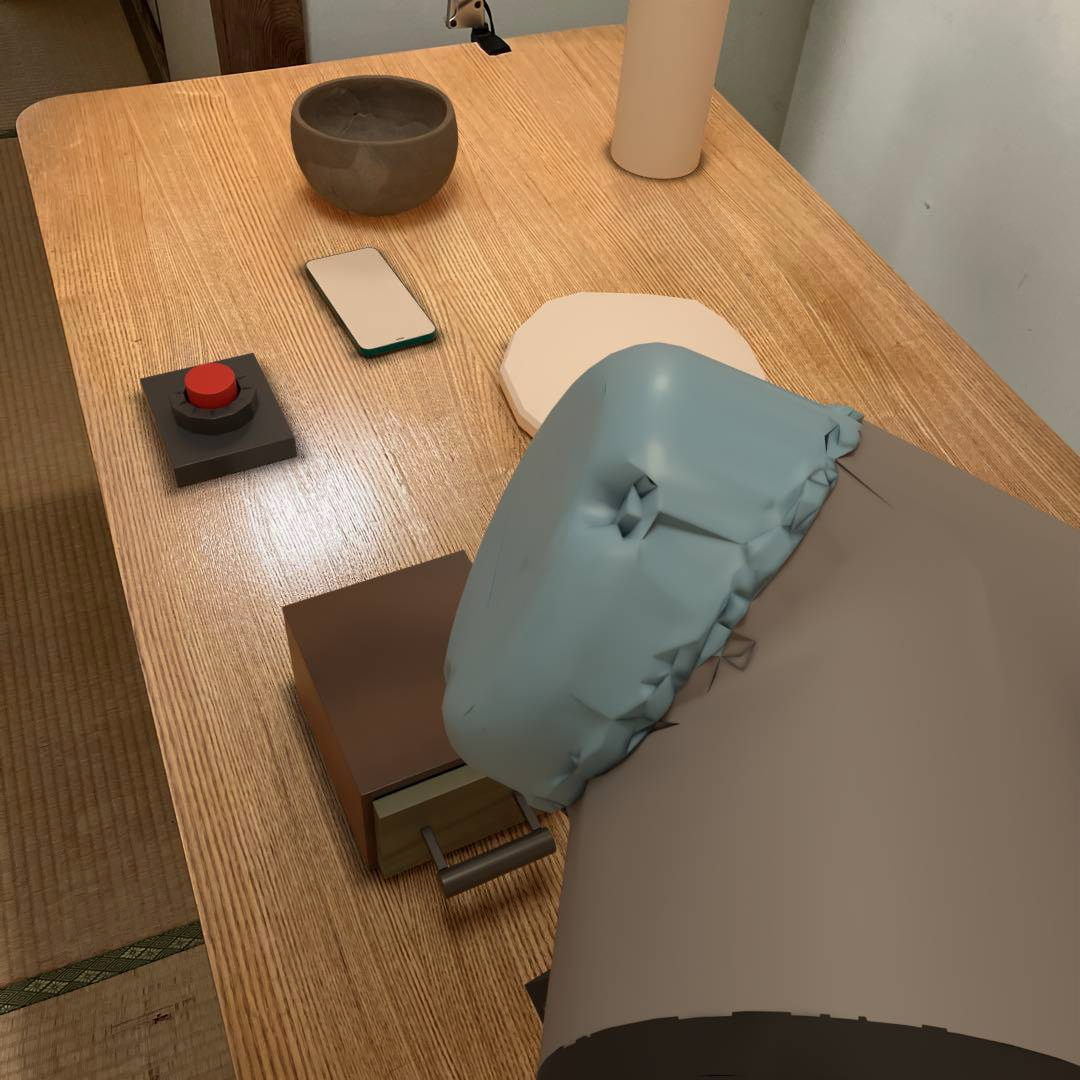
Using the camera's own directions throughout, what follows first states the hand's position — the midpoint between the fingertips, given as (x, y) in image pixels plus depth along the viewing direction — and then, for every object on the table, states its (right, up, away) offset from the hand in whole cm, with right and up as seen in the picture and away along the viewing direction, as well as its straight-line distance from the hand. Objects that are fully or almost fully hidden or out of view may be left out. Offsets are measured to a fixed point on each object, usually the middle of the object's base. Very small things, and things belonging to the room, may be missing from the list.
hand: (551, 1005), depth 47 cm
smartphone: (-17, +44, +59) cm, 75 cm away
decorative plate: (+8, +34, +53) cm, 63 cm away
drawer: (-7, +4, +23) cm, 24 cm away
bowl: (-18, +59, +72) cm, 95 cm away
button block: (-28, +30, +45) cm, 61 cm away
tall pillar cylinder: (+13, +66, +82) cm, 107 cm away
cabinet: (-9, +7, +26) cm, 28 cm away
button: (-28, +33, +43) cm, 61 cm away
